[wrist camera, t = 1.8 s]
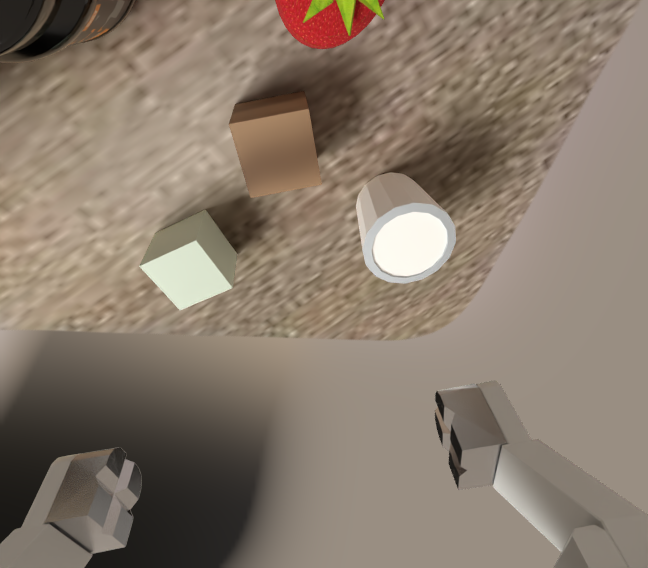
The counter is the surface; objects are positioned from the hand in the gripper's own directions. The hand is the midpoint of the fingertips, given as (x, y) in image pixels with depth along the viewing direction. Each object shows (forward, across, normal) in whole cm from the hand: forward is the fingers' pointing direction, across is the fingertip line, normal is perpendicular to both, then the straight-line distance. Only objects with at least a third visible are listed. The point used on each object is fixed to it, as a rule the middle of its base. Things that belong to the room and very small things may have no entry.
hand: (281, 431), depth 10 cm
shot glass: (+25, -8, +7) cm, 27 cm away
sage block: (+25, +9, +8) cm, 28 cm away
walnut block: (+25, 0, 0) cm, 25 cm away
